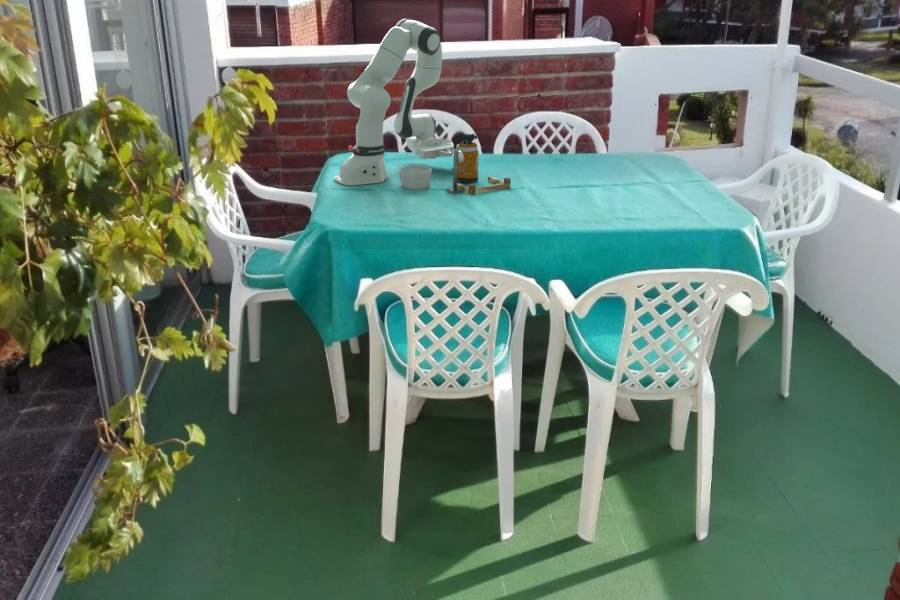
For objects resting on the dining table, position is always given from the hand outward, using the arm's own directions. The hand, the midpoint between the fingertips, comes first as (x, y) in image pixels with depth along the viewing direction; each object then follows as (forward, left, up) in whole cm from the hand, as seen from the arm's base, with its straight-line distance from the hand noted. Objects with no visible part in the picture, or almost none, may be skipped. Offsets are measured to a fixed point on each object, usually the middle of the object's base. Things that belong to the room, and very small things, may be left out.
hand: (449, 154), depth 354 cm
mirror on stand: (-13, -23, -9) cm, 27 cm away
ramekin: (-21, -7, -9) cm, 24 cm away
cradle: (0, -23, -9) cm, 25 cm away
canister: (0, -12, -9) cm, 15 cm away
